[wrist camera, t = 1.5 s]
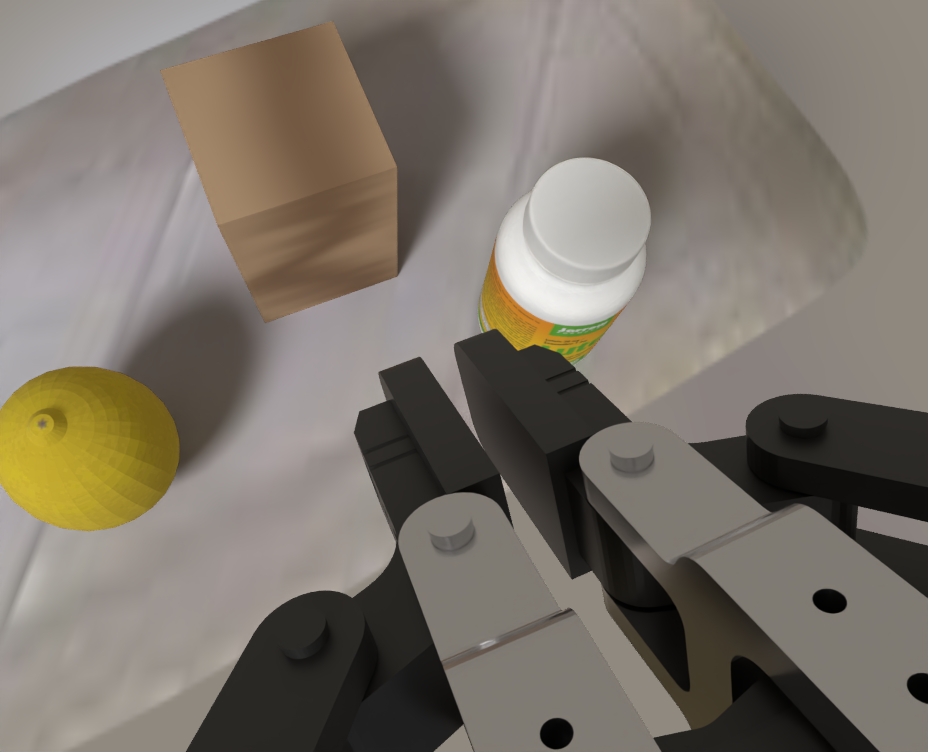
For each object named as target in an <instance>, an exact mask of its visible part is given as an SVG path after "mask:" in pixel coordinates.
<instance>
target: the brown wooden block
mask: <svg viewBox="0 0 928 752" xmlns="http://www.w3.org/2000/svg"><path fill="white" fill-rule="evenodd" d="M160 72H161V74H162V77H163V80H164V82H165V85H166V88H167V90H168V93H169V96H170V99H171V101H172V104H173V107H174V109H175V112H176V115H177V117H178V120H179V123H180V125H181V128H182V131H183V134H184V136H185V139H186V142H187V144H188V147H189V150H190V152H191V155H192V158H193V161H194V163H195V166H196V169H197V171H198V174H199V177H200V179H201V182H202V185H203V188H204V190H205V193H206V196H207V198H208V201H209V204H210V206H211V209H212V212H213V215H214V217H215V220H216V223H217V225H218V227H219V229H220V232H221V234H222V236H223V238H224V240H225V242H226V244H227V246H228V248H229V250H230V252H231V254H232V256H233V258H234V260H235V262H236V264H237V266H238V268H239V270H240V272H241V275H242V277H243V279H244V281H245V283H246V285H247V287H248V289H249V291H250V293H251V295H252V297H253V299H254V301H255V303H256V305H257V307H258V309H259V311H260V313H261V315H262V318H263V320H264V322H265V323H267V322H269V321H272V320H275V319H278V318H281V317H284V316H286V315H289V314H292V313H295V312H298V311H301V310H303V309H306V308H309V307H312V306H315V305H318V304H320V303H323V302H326V301H329V300H332V299H335V298H338V297H340V296H343V295H346V294H349V293H352V292H355V291H357V290H360V289H363V288H366V287H369V286H372V285H374V284H377V283H380V282H383V281H386V280H389V279H391V278H394V277H397V166H396V163H395V161H394V159H393V156H392V154H391V152H390V150H389V147H388V145H387V143H386V141H385V138H384V136H383V134H382V131H381V129H380V127H379V125H378V122H377V120H376V118H375V116H374V113H373V111H372V109H371V106H370V104H369V102H368V100H367V97H366V95H365V93H364V90H363V88H362V86H361V84H360V81H359V79H358V77H357V75H356V72H355V70H354V68H353V65H352V63H351V61H350V59H349V56H348V54H347V52H346V50H345V47H344V45H343V43H342V40H341V38H340V36H339V34H338V31H337V29H336V27H335V25H334V22H333V21H331V22H328V23H324V24H321V25H317V26H314V27H310V28H307V29H303V30H300V31H296V32H293V33H289V34H286V35H282V36H279V37H275V38H272V39H268V40H265V41H261V42H258V43H254V44H251V45H247V46H244V47H240V48H237V49H233V50H230V51H226V52H223V53H219V54H215V55H212V56H208V57H205V58H201V59H198V60H194V61H191V62H187V63H184V64H180V65H177V66H173V67H170V68H166V69H163V70H160Z"/></svg>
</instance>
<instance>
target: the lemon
mask: <svg viewBox="0 0 928 752" xmlns="http://www.w3.org/2000/svg"><path fill="white" fill-rule="evenodd" d="M178 463H179V437H178V433H177V429H176V426H175V422H174V420H173V418H172V417H171V415H170V413H169V411H168V410H167V408H166V406H165V405H164V403H163V402H162V401H161V400H160V399H159V398H158V397H157V396H156V395H155V394H154V393H153V392H152V391H151V390H150V389H149V388H148V387H146V386H145V385H143V384H142V383H140V382H138V381H136V380H134V379H132V378H130V377H129V376H127V375H124V374H122V373H119V372H115V371H111V370H107V369H103V368H98V367H66V368H62V369H58V370H53V371H49V372H46V373H44V374H42V375H40V376H38V377H36V378H34V379H32V380H29V381H28V382H27V383H26V384H24V385H23V386H22V387H20V388H19V389H18V390H16V391H15V392H14V393H13V394H12V396H11V397H10V398H9V399H8V400H7V402H6V403H5V404H4V405H3V406H2V408H1V410H0V484H1V485H2V486H3V488H4V489H5V491H6V492H7V493H8V495H9V496H10V498H11V499H12V500H13V501H14V502H15V503H16V504H18V505H19V506H20V507H22V508H23V509H24V510H26V511H27V512H28V513H30V514H31V515H32V516H34V517H35V518H37V519H39V520H42V521H44V522H47V523H50V524H52V525H55V526H57V527H60V528H65V529H73V530H82V531H94V530H101V529H109V528H114V527H117V526H120V525H122V524H125V523H127V522H130V521H132V520H135V519H136V518H138V517H139V516H141V515H142V514H144V513H145V512H147V511H148V510H149V509H151V508H152V507H153V506H154V505H155V504H156V503H157V502H158V501H159V500H160V499H161V498H162V497H163V496H164V494H165V493H166V491H167V490H168V488H169V486H170V484H171V483H172V481H173V479H174V477H175V473H176V470H177V466H178Z"/></svg>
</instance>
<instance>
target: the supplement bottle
mask: <svg viewBox="0 0 928 752" xmlns="http://www.w3.org/2000/svg"><path fill="white" fill-rule="evenodd" d="M650 226H651V211H650V206H649V203H648V200H647V197H646V195H645V193H644V191H643V190H642V188H641V187H640V185H639V184H638V182H637V181H636V180H635V179H634V178H633V177H632V176H631V175H630V174H629V173H627V172H626V171H625V170H623V169H622V168H620V167H618V166H616V165H614V164H612V163H610V162H608V161H605V160H601V159H596V158H574V159H569V160H566V161H563V162H561V163H558V164H556V165H555V166H553V167H551V168H550V169H549V170H547V171H546V172H545V173H544V174H543V175H542V176H541V177H540V178H539V180H538V181H537V183H536V184H535V186H534V188H533V190H531V191H530V192H528V193H526V194H525V195H524V196H522V197H521V198H520V199H519V200H518V201H517V202H515V204H514V205H513V206H512V207H511V208H510V210H509V211H508V212H507V214H506V216H505V218H504V219H503V221H502V224H501V226H500V229H499V231H498V234H497V237H496V239H495V244H494V248H493V251H492V255H491V259H490V262H489V266H488V270H487V274H486V277H485V281H484V284H483V288H482V291H481V295H480V299H479V304H478V320H479V326H480V329H481V332H482V333H484V332H487V331H489V330H492V329H497V330H499V331H500V332H501V334H502V335H503V336H504V337H505V338H506V339H507V340H508V341H509V342H510V343H511V344H512V345H513V346H514V347H515V348H516V349H517V350H518V351H519V350H521V349H524V348H527V347H529V346H532V345H534V344H535V345H538V346H541V347H544V348H547V349H550V350H553V351H555V352H558V353H560V354H561V355H562V356H563V357H564V358H565V359H567V360H568V361H569V362H570V363H571V364H572V365H573V366H574V365H575V364H577V363H578V362H579V361H581V360H582V359H583V358H584V357H585V356H586V355H587V354H588V353H589V352H590V351H591V350H592V348H593V347H594V346H595V345H596V343H597V342H598V341H599V340H600V338H601V337H602V336H603V335H604V333H605V332H606V331H607V330H608V328H609V327H610V326H611V325H612V323H613V322H614V321H615V319H616V318H617V317H618V315H619V314H620V313H621V312H622V310H623V309H624V308H625V307H626V305H627V304H628V303H629V301H630V300H631V299H632V297H633V296H634V294H635V293H636V291H637V289H638V287H639V286H640V284H641V281H642V279H643V275H644V272H645V268H646V245H645V242H646V240H647V238H648V235H649V231H650Z"/></svg>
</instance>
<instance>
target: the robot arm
mask: <svg viewBox="0 0 928 752" xmlns="http://www.w3.org/2000/svg"><path fill="white" fill-rule="evenodd" d="M454 352H455V357H456V361H457V365H458V368H459V372H460V376H461V380H462V384H463V387H464V391H465V395H466V399H467V403H468V406H469V410H470V414H471V418H472V421H473V425H474V427H475V430H476V433H477V435H478V438H479V440H480V442H481V444H482V446H483V448H484V449H483V448H482V446H481V445H480V443H479V442H478V440H477V439H476V438H475V436H474V435H473V433H472V432H471V430H470V429H469V427H468V426H467V424H466V423H465V421H464V420H463V418H462V417H461V415H460V414H459V412H458V411H457V410H456V408H455V407H454V405H453V404H452V402H451V401H450V399H449V398H448V396H447V395H446V393H445V392H444V390H443V389H442V387H441V386H440V385H439V383H438V382H437V380H436V379H435V377H434V376H433V374H432V373H431V371H430V370H429V368H428V367H427V365H426V364H425V362H424V361H423V360H422V358H421V357H417V358H415V359H412V360H409V361H407V362H404V363H401V364H399V365H396V366H393V367H391V368H388V369H385V370H383V371H380V372H378V373H379V378H380V382H381V385H382V388H383V391H384V394H385V397H386V400H387V401H386V402H383V403H380V404H378V405H375V406H372V407H370V408H367V409H365V410H362V411H359V415H358V419H357V423H356V427H355V431H354V434H355V437H356V440H357V442H358V445H359V448H360V451H361V453H362V456H363V459H364V461H365V464H366V467H367V470H368V472H369V475H370V478H371V480H372V483H373V486H374V489H375V491H376V494H377V497H378V499H379V502H380V505H381V507H382V510H383V512H384V514H385V517H386V519H387V522H388V524H389V526H390V529H391V531H392V534H393V536H394V538H395V540H396V549H395V552H394V555H393V557H392V559H391V561H390V563H389V565H388V566H387V567H386V569H385V570H384V572H383V573H382V574H381V575H380V576H379V577H378V578H377V579H376V580H375V581H374V582H373V583H371V584H370V585H369V586H368V587H366V588H365V589H364V590H363V591H361V592H360V593H359V594H357V595H356V596H355V597H353V598H351V597H349V596H348V595H346V594H343V593H340V592H336V591H316V592H310V593H307V594H303V595H300V596H298V597H295V598H293V599H291V600H289V601H287V602H286V603H284V604H282V605H281V606H279V607H278V608H277V609H275V610H274V611H273V612H272V613H271V614H269V615H268V616H267V617H266V618H265V619H264V621H263V622H262V623H261V624H260V625H259V627H258V628H257V630H256V631H255V633H254V634H253V636H252V638H251V639H250V641H249V643H248V645H247V646H246V648H245V650H244V651H243V653H242V655H241V657H240V658H239V660H238V662H237V664H236V665H235V667H234V669H233V671H232V672H231V674H230V676H229V678H228V680H227V681H226V683H225V685H224V686H223V688H222V690H221V692H220V693H219V695H218V697H217V698H216V700H215V702H214V704H213V706H212V707H211V709H210V711H209V713H208V714H207V716H206V718H205V719H204V721H203V723H202V725H201V726H200V728H199V730H198V732H197V733H196V735H195V737H194V738H193V740H192V742H191V744H190V745H189V747H188V749H187V751H186V752H434V751H435V749H437V748H438V747H439V746H440V745H441V744H442V743H443V742H445V740H447V739H448V738H449V737H450V736H451V735H452V734H453V733H454V732H455V731H456V730H458V729H459V728H460V727H461V726H462V725H463V724H464V727H465V730H466V732H467V735H468V738H469V740H470V743H471V746H472V749H473V751H474V752H928V546H927V545H923V544H919V543H915V542H911V541H906V540H902V539H899V538H894V537H890V536H886V535H882V534H878V533H874V532H870V531H866V530H862V529H857V528H856V527H857V514H858V506H860V507H864V508H869V509H873V510H877V511H882V512H887V513H891V514H895V515H899V516H904V517H908V518H913V519H917V520H921V521H925V522H928V413H926V412H920V411H913V410H907V409H900V408H895V407H888V406H882V405H876V404H870V403H863V402H857V401H850V400H844V399H838V398H831V397H825V396H819V395H811V394H792V395H784V396H779V397H775V398H772V399H769V400H767V401H765V402H763V403H761V404H759V405H758V406H756V407H755V408H754V409H753V410H752V411H751V413H750V414H749V415H748V417H747V420H746V435H745V436H739V437H733V438H727V439H721V440H715V441H709V442H701V443H686V442H685V441H684V440H683V439H681V438H680V437H679V436H678V435H677V434H675V433H674V432H673V431H671V430H669V429H667V428H665V427H662V426H660V425H657V424H652V423H644V422H632V421H630V420H629V419H628V418H627V417H626V416H625V415H624V414H623V413H622V412H621V411H620V410H619V409H618V408H617V407H616V406H615V405H614V404H613V403H612V402H611V401H610V400H609V399H607V398H606V397H605V396H604V395H603V394H602V393H601V392H600V391H599V390H598V389H597V388H596V387H595V386H594V385H593V384H592V383H590V384H589V382H588V379H586V378H585V377H584V376H583V375H582V374H581V373H580V372H579V371H576V369H575V367H574V366H573V365H572V364H571V363H570V362H569V361H568V360H567V359H565V358H564V357H563V356H562V355H561V354H560V353H558V352H555V351H553V350H550V349H547V348H544V347H541V346H538V345H535V344H534V345H532V346H529V347H527V348H524V349H521V350H519V351H518V350H517V349H516V348H515V347H514V346H513V345H512V344H511V343H510V342H509V341H508V340H507V339H506V338H505V337H504V336H503V335H502V334H501V332H500V331H499V330H497V329H492V330H489V331H487V332H484V333H481V334H479V335H476V336H473V337H471V338H468V339H465V340H463V341H460V342H457V343H455V344H454ZM484 450H485V451H484ZM500 474H501V476H502V477H503V479H504V480H505V482H506V483H507V485H508V486H509V488H510V489H511V491H512V492H513V494H514V495H515V497H516V498H517V499H518V501H519V502H520V504H521V505H522V507H523V508H524V510H525V511H526V513H527V514H528V515H529V517H530V518H531V520H532V522H533V523H534V524H535V526H536V527H537V529H538V530H539V532H540V533H541V535H542V536H543V538H544V539H545V540H546V542H547V543H548V545H549V547H550V548H551V549H552V551H553V552H554V554H555V555H556V557H557V558H558V560H559V561H560V563H561V564H562V566H563V567H564V569H565V570H566V571H567V573H568V574H569V576H570V577H571V579H574V578H576V577H578V576H581V575H583V574H585V573H588V572H590V571H593V573H594V574H595V575H596V577H597V578H598V579H599V581H600V582H601V585H602V591H603V597H604V602H605V606H606V609H607V611H608V613H609V614H610V616H611V617H612V619H613V620H614V621H615V623H616V624H617V625H618V627H619V628H620V629H621V631H622V632H623V633H624V635H625V636H626V637H627V639H628V640H629V641H630V643H631V644H632V646H633V647H634V648H635V650H636V651H637V652H638V654H639V655H640V656H641V658H642V659H643V660H644V662H645V663H646V664H647V666H648V667H649V668H650V670H651V671H652V672H653V674H654V675H655V676H656V678H657V679H658V680H659V682H660V683H661V684H662V686H663V687H664V688H665V690H666V691H667V692H668V694H669V695H670V696H671V698H672V699H673V701H674V702H675V703H676V705H677V706H678V707H679V708H680V710H681V712H682V713H683V715H684V717H685V718H686V720H687V722H688V724H689V726H690V728H691V730H689V731H684V732H679V733H674V734H669V735H664V736H660V737H655V738H653V737H652V736H651V734H650V732H649V731H648V729H647V727H646V726H645V724H644V722H643V721H642V720H641V718H640V716H639V714H638V712H637V711H636V709H635V708H634V706H633V704H632V703H631V701H630V700H629V698H628V696H627V694H626V693H625V691H624V690H623V688H622V686H621V685H620V683H619V681H618V680H617V678H616V676H615V675H614V673H613V671H612V670H611V668H610V666H609V665H608V663H607V661H606V660H605V658H604V657H603V655H602V653H601V652H600V650H599V648H598V647H597V645H596V643H595V642H594V640H593V638H592V637H591V635H590V634H589V632H588V630H587V629H586V627H585V625H584V624H583V622H582V621H581V619H580V618H579V616H578V615H577V614H576V613H575V612H574V610H572V609H571V608H567V609H565V610H561V609H560V607H559V606H558V604H557V602H556V601H555V599H554V597H553V596H552V594H551V592H550V591H549V589H548V587H547V585H546V584H545V582H544V580H543V579H542V577H541V575H540V573H539V572H538V570H537V568H536V567H535V565H534V563H533V562H532V560H531V558H530V557H529V555H528V553H527V551H526V550H525V548H524V546H523V544H522V543H521V541H520V539H519V538H518V536H517V534H516V533H515V531H514V528H513V524H512V520H511V516H510V512H509V508H508V504H507V500H506V496H505V492H504V488H503V484H502V480H501V476H500Z"/></svg>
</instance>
